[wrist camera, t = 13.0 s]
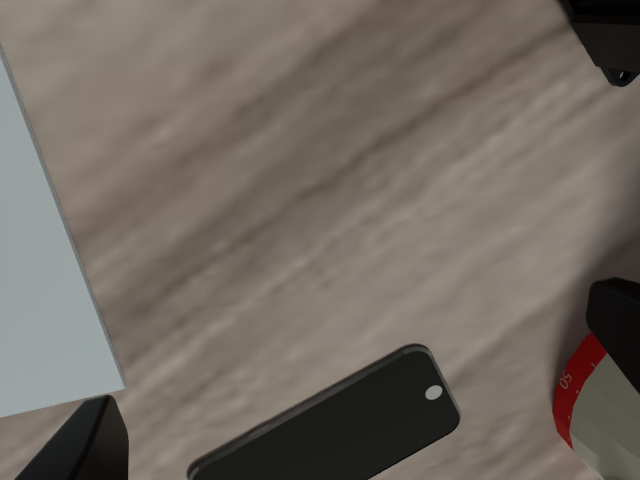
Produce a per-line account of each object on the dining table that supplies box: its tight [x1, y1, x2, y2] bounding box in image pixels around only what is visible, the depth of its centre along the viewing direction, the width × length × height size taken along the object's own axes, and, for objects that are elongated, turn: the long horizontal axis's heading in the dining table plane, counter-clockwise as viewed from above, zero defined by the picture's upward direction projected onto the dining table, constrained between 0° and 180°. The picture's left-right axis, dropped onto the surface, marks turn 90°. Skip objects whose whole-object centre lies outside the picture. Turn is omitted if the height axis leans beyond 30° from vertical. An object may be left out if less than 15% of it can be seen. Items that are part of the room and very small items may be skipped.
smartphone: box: [189, 345, 461, 480], centre depth 28 cm, size 8×1×15 cm
